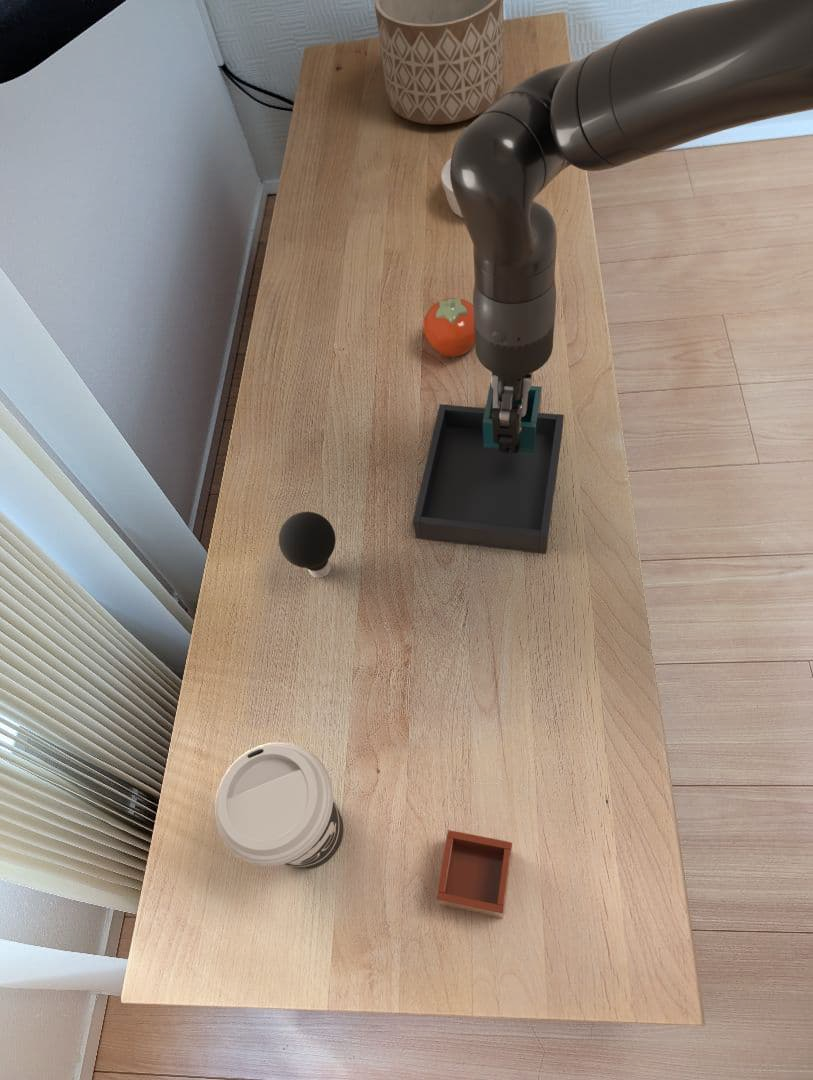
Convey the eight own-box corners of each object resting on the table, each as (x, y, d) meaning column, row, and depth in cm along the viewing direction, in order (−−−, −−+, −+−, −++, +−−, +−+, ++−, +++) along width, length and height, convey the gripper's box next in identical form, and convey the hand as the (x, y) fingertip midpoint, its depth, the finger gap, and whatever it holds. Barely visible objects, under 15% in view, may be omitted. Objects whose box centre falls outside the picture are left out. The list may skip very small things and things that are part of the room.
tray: (562, 433, 93) (563, 414, 90) (546, 554, 85) (547, 537, 82) (442, 423, 96) (439, 403, 93) (415, 538, 88) (412, 521, 85)
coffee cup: (362, 779, 75) (332, 734, 62) (356, 887, 70) (322, 863, 57) (265, 779, 76) (216, 735, 63) (253, 886, 71) (197, 861, 58)
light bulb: (337, 599, 85) (318, 555, 77) (288, 589, 86) (263, 544, 78) (353, 554, 88) (337, 506, 79) (305, 544, 89) (284, 496, 81)
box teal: (540, 413, 88) (541, 386, 84) (534, 452, 86) (535, 427, 82) (491, 408, 89) (490, 382, 85) (483, 448, 87) (482, 422, 83)
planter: (365, 112, 131) (347, 5, 117) (437, 55, 137) (428, -52, 123) (455, 148, 123) (448, 38, 109) (526, 86, 130) (529, -25, 116)
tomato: (478, 322, 104) (476, 274, 97) (485, 363, 100) (484, 316, 93) (423, 329, 104) (417, 282, 97) (428, 371, 100) (422, 325, 94)
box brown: (512, 850, 70) (512, 842, 66) (503, 918, 68) (503, 913, 64) (451, 838, 71) (447, 829, 68) (440, 904, 69) (436, 899, 65)
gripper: (545, 375, 68) (539, 484, 83) (562, 263, 75) (554, 381, 90) (461, 369, 70) (469, 476, 84) (485, 259, 77) (489, 376, 91)
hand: (513, 427), depth 87 cm, fingers closed on box teal, 5 cm apart
